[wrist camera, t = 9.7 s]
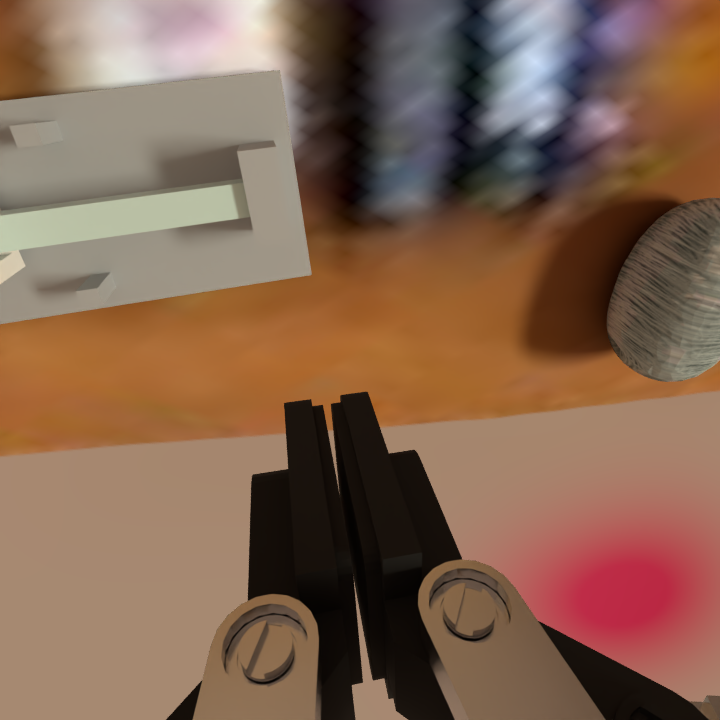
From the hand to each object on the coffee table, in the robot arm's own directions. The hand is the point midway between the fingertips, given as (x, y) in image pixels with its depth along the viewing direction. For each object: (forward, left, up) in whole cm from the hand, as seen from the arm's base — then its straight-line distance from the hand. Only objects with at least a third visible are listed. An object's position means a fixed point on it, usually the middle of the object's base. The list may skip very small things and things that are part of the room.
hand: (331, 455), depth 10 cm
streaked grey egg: (+9, +28, -26) cm, 40 cm away
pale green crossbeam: (-2, -14, -22) cm, 26 cm away
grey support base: (-2, -14, -26) cm, 29 cm away
